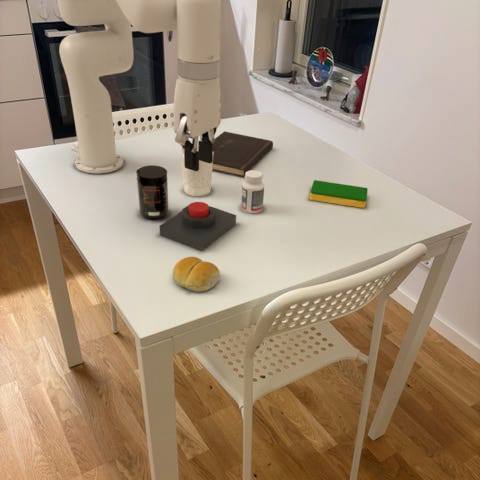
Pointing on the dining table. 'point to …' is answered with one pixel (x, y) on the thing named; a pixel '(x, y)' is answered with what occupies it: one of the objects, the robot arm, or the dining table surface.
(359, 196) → the dish sponge
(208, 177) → the white cup
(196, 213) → the button
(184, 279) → the bread roll
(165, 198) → the supplement container
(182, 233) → the control box
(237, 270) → the dining table surface
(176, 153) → the dining table surface
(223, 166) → the hardcover book
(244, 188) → the pill bottle
